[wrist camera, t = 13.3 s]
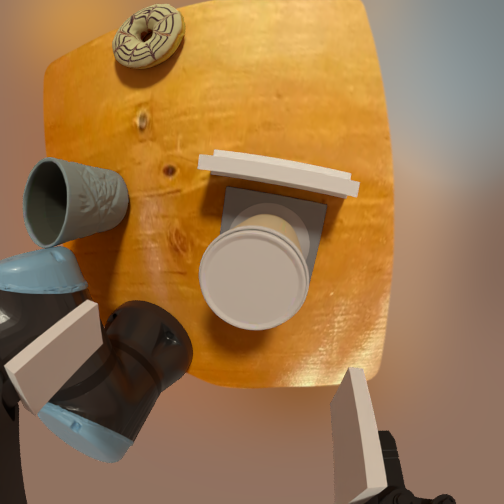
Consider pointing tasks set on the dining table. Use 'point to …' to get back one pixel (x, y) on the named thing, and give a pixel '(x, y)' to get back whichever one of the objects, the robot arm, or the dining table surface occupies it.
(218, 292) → the coffee cup
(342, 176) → the low wall
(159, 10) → the decorated donut
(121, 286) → the dining table surface
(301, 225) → the resting mat
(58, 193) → the grey cup
